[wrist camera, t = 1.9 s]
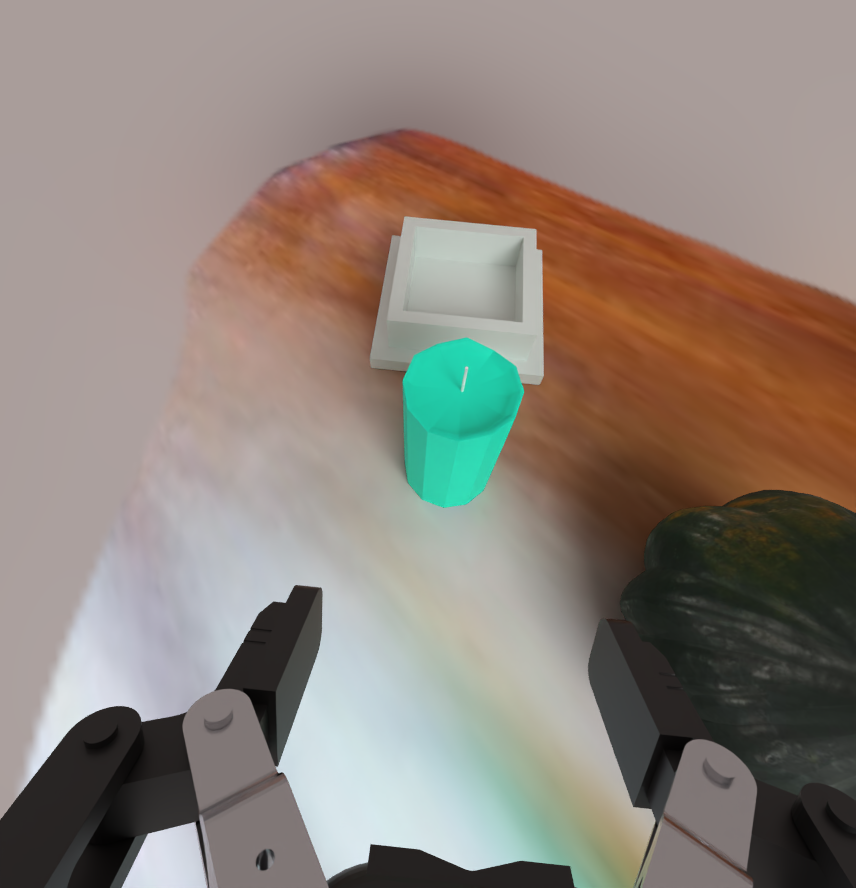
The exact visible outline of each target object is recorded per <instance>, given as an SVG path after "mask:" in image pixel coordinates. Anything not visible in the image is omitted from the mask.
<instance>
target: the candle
mask: <svg viewBox="0 0 856 888" xmlns="http://www.w3.org/2000/svg"><path fill="white" fill-rule="evenodd" d="M523 394H524V389H523V386H522V383H521V380H520V376H519V373H518V370H517V367H516V366H515V365H514V364H512V363H511V362H510V361H508V360H507V359H506V358H504V357H503V356H501V355H500V354H499V353H497V352H496V351H494V350H492V349H490V348H488V347H486V346H484V345H482V344H480V343H478V342H476V341H473V340H471V339H469V338H467V337H466V338H462V339H457V340H452V341H448V342H443V343H438V344H436V345H434V346H432V347H430V348H428V349H426V350H424V351H421V352H419V353H417V354H415V355H414V356H413V359H412V361H411V363H410V365H409V367H408V370H407V372H406V374H405V376H404V378H403V417H404V456H405V467H406V474H407V480H408V483H409V485H410V486H411V487H412V488H413V489H414V491H415V492H416V493H417V494H418V495H419V496H420V498H421V499H422V500H424V501H427V502H430V503H433V504H435V505H438V506H441V507H443V508H445V507H452V506H459V505H465V504H467V503H469V502H470V501H471V500H472V499H474V498H475V497H476V496H477V495H479V494H480V493H481V492H482V491H484V488H485V486H486V484H487V481H488V479H489V477H490V475H491V472H492V470H493V468H494V465H495V463H496V461H497V459H498V456H499V454H500V452H501V450H502V447H503V445H504V443H505V440H506V438H507V436H508V434H509V431H510V429H511V427H512V424H513V422H514V420H515V417H516V415H517V412H518V409H519V406H520V403H521V400H522V397H523Z"/></svg>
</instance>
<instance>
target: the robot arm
mask: <svg viewBox="0 0 856 888" xmlns="http://www.w3.org/2000/svg"><path fill="white" fill-rule="evenodd" d="M321 633H322V588H319V587H309V586H300V585H295V586H294V588H293V590H292V592H291V594H290V596H289V598H288V600H287V602H286V603H282V602H272V603H271V604H270V605H269V606H268V607H266V608H265V609H264V610H263V611H261V612H260V613H259V614H258V616H257V618H256V620H255V621H254V623H253V625H252V627H251V630H250V631H249V632H248V634H247V635H246V637H245V639H244V642H243V643H242V644H241V646H240V648H239V649H238V651H237V653H236V655H235V657H234V658H233V660H232V662H231V664H230V665H229V667H228V669H227V671H226V672H225V674H224V676H223V678H222V679H221V681H220V683H219V685H218V686H217V688H216V690H215V691H214V692H211V693H209V694H207V695H205V696H203V697H202V698H200V699H199V700H198V701H196V702H195V703H194V704H193V705H192V706H191V707H190V709H189V710H188V712H186V713H183V714H180V715H177V716H172V717H167V718H161V719H156V720H151V721H145V722H141V718H140V716H139V714H138V713H137V711H135V710H134V709H132V708H129V707H124V706H115V707H109V708H105V709H102V710H99V711H97V712H95V713H93V714H91V715H89V716H87V717H85V718H84V719H82V720H81V721H80V722H78V723H77V724H76V725H75V726H74V727H73V728H72V729H71V730H70V731H69V732H68V733H67V734H66V735H65V737H64V738H63V739H62V741H61V742H60V743H59V744H58V746H57V747H56V748H55V750H54V751H53V752H52V754H51V755H50V756H49V757H48V759H47V760H46V761H45V763H44V764H43V765H42V766H41V768H40V769H39V770H38V772H37V773H36V774H35V776H34V777H33V778H32V779H31V781H30V782H29V783H28V785H27V786H26V787H25V789H24V790H23V791H22V792H21V794H20V795H19V796H18V798H17V799H16V800H15V801H14V803H13V804H12V805H11V807H10V808H9V809H8V811H7V812H6V813H5V814H4V816H3V817H2V818H1V820H0V888H122V886H123V884H124V881H125V879H126V877H127V875H128V873H129V871H130V869H131V867H132V865H133V863H134V861H135V859H136V857H137V855H138V853H139V851H140V849H141V847H142V845H143V843H144V840H145V838H146V836H147V834H148V833H152V832H156V831H160V830H164V829H168V828H172V827H176V826H180V825H184V824H188V823H192V822H194V823H195V828H196V833H197V838H198V843H199V849H200V854H201V859H202V864H203V869H204V874H205V880H206V885H207V888H576V887H574V883H573V878H572V874H571V869H570V866H563V865H554V864H545V863H536V862H527V861H518V862H513V863H509V864H504V865H500V866H495V867H490V868H486V869H481V870H477V871H469V870H465V869H463V868H461V867H458V866H456V865H454V864H452V863H449V862H447V861H445V860H442V859H440V858H438V857H435V856H433V855H431V854H428V853H426V852H424V851H421V850H418V849H409V848H400V847H391V846H381V845H372V844H371V846H370V853H369V860H368V863H364V864H359V865H356V866H353V867H351V868H348V869H345V870H344V871H342V872H340V873H338V874H336V875H334V876H333V877H331V878H330V879H329V880H327V881H326V879H325V876H324V874H323V871H322V868H321V866H320V863H319V861H318V858H317V855H316V853H315V850H314V847H313V845H312V842H311V840H310V837H309V834H308V832H307V829H306V827H305V824H304V821H303V819H302V816H301V814H300V811H299V808H298V806H297V803H296V800H295V798H294V795H293V793H292V790H291V787H290V785H289V782H288V780H287V778H286V776H285V775H284V773H282V772H281V773H278V772H277V770H276V767H275V766H277V767H278V765H279V762H280V759H281V756H282V753H283V750H284V747H285V745H286V742H287V739H288V736H289V733H290V730H291V728H292V725H293V722H294V719H295V716H296V713H297V711H298V708H299V705H300V702H301V699H302V696H303V693H304V691H305V688H306V685H307V682H308V679H309V676H310V674H311V671H312V668H313V665H314V662H315V659H316V657H317V654H318V650H319V646H320V641H321ZM588 674H589V680H590V684H591V687H592V690H593V693H594V696H595V699H596V702H597V704H598V707H599V710H600V713H601V716H602V719H603V722H604V724H605V727H606V730H607V733H608V736H609V739H610V742H611V744H612V747H613V750H614V753H615V756H616V759H617V762H618V764H619V767H620V770H621V773H622V776H623V779H624V782H625V784H626V787H627V790H628V793H629V796H630V799H631V802H632V804H633V807H639V808H648V809H652V812H653V814H654V817H655V820H656V821H655V824H654V826H653V829H652V832H651V835H650V838H649V841H648V844H647V847H646V850H645V853H644V856H643V859H642V862H641V865H640V868H639V871H638V874H637V877H636V880H635V883H634V886H633V888H856V801H855V800H854V799H853V798H851V797H850V796H848V795H847V794H845V793H843V792H841V791H840V790H838V789H835V788H833V787H831V786H828V785H825V784H821V783H808V784H806V785H804V786H803V787H802V789H801V791H800V793H799V795H798V796H797V795H795V794H792V793H790V792H787V791H785V790H782V789H779V788H777V787H774V786H772V785H769V784H767V783H764V782H762V781H759V780H757V779H755V778H754V777H753V775H752V774H751V772H750V770H749V769H748V768H747V766H746V765H745V764H744V763H743V762H742V761H741V760H740V759H739V758H738V757H737V756H736V755H735V754H733V753H732V752H731V751H729V750H728V749H726V748H725V747H723V746H721V745H719V744H717V743H715V742H714V741H713V739H712V737H711V735H710V734H709V732H708V730H707V728H706V727H705V725H704V723H703V722H702V720H701V718H700V716H699V715H698V713H697V711H696V709H695V708H694V706H693V704H692V702H691V701H690V699H689V697H688V695H687V694H686V692H685V691H683V687H682V685H681V683H680V681H679V680H678V678H677V677H675V673H674V671H673V669H672V668H671V666H670V664H669V662H668V661H667V659H666V657H665V656H664V655H663V654H662V653H661V652H660V651H659V650H657V649H656V648H655V647H654V646H653V645H652V644H651V643H650V642H643V641H641V639H640V637H639V635H638V633H637V631H636V629H635V627H634V626H633V624H632V623H631V622H630V621H625V620H615V619H606V618H602V619H601V620H600V622H599V625H598V628H597V632H596V636H595V639H594V643H593V647H592V650H591V654H590V658H589V663H588Z"/></svg>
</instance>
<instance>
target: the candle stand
mask: <svg viewBox="0 0 856 888" xmlns="http://www.w3.org/2000/svg"><path fill="white" fill-rule="evenodd" d="M466 337H467V338H469V339H471V340H473V341H476V342H478V343H480V344H482V345H484V346H486V347H488V348H490V349H492V350H494V351H496V352H497V353H499V354H500V355H501V356H503V357H504V358H506V359H507V360H508V361H510V362H511V363H512V364H514V365H515V366H516V367H517V370H518V373H519V376H520V380H521V383H526V384H536V385H540V383H541V381H542V379H543V377H544V363H543V287H542V250H536V229H528V228H517V227H507V226H497V225H487V224H477V223H466V222H456V221H446V220H436V219H426V218H415V217H405V216H404V222H403V228H402V234H401V236H394V235H392V239H391V245H390V250H389V256H388V261H387V267H386V272H385V277H384V283H383V288H382V294H381V299H380V305H379V310H378V316H377V321H376V327H375V332H374V337H373V343H372V348H371V354H370V365H371V368H377V369H387V370H397V371H407V370H408V367H409V365H410V363H411V361H412V359H413V356H414V355H415V354H417V353H419V352H421V351H424V350H426V349H428V348H430V347H432V346H434V345H436V344H438V343H443V342H448V341H452V340H457V339H462V338H466Z"/></svg>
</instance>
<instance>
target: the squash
mask: <svg viewBox="0 0 856 888" xmlns="http://www.w3.org/2000/svg"><path fill="white" fill-rule="evenodd" d="M644 564H645V570H646V571H644V572H643V573H642V574H640V575H639V576H637V577H636V578H635V579H633V580H632V581H631V582H630V583H629V584H628V585H627V587H626V588H625V589H624V591H623V593H622V595H621V600H620V607H621V612H622V614H623V615H624V617H625V619H626V620H627V621H630V622H631V623H632V624H633V626H634V627H635V629H636V631H637V633H638V635H639V637H640V639H641V641H643V642H650V643H651V644H652V645H653V646H654V647H655V648H656V649H657V650H659V651H660V652H661V653H662V654H663V655H664V656H665V657H666V659H667V661H668V662H669V664H670V666H671V668H672V669H673V671H674V673H675V677H677V678H678V680H679V681H680V683H681V685H682V687H683V691H685V692H686V694H687V695H688V697H689V699H690V701H691V702H692V704H693V706H694V708H695V709H696V711H697V713H698V715H699V716H700V718H701V720H702V722H703V723H704V725H705V727H706V728H707V730H708V732H709V734H710V735H711V737H712V739H713V741H714V742H715V743H717V744H719V745H721V746H723V747H725V748H726V749H728V750H729V751H731V752H732V753H733V754H735V755H736V756H737V757H738V758H739V759H740V760H741V761H742V762H743V763H744V764H745V765H746V766H747V768H748V769H749V770H750V772H751V774H752V775H753V777H754V778H755V779H757V780H759V781H762V782H764V783H767V784H769V785H772V786H774V787H777V788H779V789H782V790H785V791H787V792H790V793H792V794H795V795H797V796H798V795H799V793H800V791H801V789H802V787H803V786H804V785H806V784H808V783H821V784H825V785H828V786H831V787H833V788H835V789H838V790H840V791H841V792H843V793H845V794H847V795H848V796H850V797H851V798H853V799H854V800H855V801H856V513H854V512H852V511H850V510H848V509H846V508H844V507H842V506H840V505H838V504H835V503H833V502H830V501H828V500H825V499H823V498H821V497H817V496H814V495H810V494H804V493H797V492H793V491H783V490H763V491H758V492H754V493H749V494H746V495H743V496H741V497H738V498H736V499H734V500H732V501H730V502H728V503H727V504H725V505H724V506H722V507H721V506H702V507H694V508H687V509H683V510H679V511H676V512H674V513H672V514H670V515H669V516H668V517H666V518H665V519H664V520H662V521H661V522H659V523H658V525H657V526H656V527H655V528H654V529H653V530H652V532H651V533H650V535H649V537H648V539H647V542H646V547H645V552H644Z"/></svg>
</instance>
